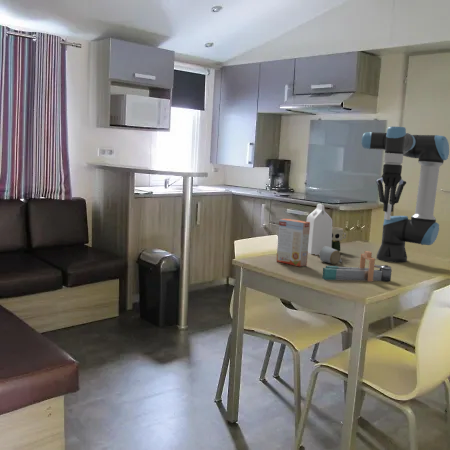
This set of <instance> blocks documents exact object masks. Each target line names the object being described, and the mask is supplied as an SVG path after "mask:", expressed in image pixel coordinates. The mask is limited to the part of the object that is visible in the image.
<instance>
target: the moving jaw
mask: <svg viewBox="0 0 450 450" xmlns="http://www.w3.org/2000/svg"><path fill="white" fill-rule="evenodd" d="M325 268H335V269H362V270H369V267H365V268H360V267H357V266H355V267H352V266H338V265H325ZM375 268H377V269H380V268H381V269H385V270H391V269H392V266H389V265H387V264H384V265H379V264H374V269H375Z"/></svg>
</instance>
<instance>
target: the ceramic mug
mask: <svg viewBox="0 0 450 450" xmlns="http://www.w3.org/2000/svg"><path fill="white" fill-rule="evenodd" d="M319 259H320V261H321V262H324V263H328V264H330V265H336V264H338V263H341V264H342V261H343V260H342V258H341V251H337V250H335V249H333V248H330V247H327V246H325V247H323V248H322V249H321V251H320V254H319Z"/></svg>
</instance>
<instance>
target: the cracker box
mask: <svg viewBox="0 0 450 450" xmlns="http://www.w3.org/2000/svg"><path fill="white" fill-rule="evenodd" d="M278 222H279V223H278V224H279V225H278V236H277V249H276V250H277V251H276V262H278V263H283V264H287V265H291V266H296V267H299V268H300V267H306V266H307V265H308V254H309V253H308V243H309V231H310V222H306V221H304V220H299V219H293V218H279V221H278Z"/></svg>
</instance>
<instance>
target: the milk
mask: <svg viewBox="0 0 450 450" xmlns="http://www.w3.org/2000/svg"><path fill="white" fill-rule="evenodd" d="M305 222H310V231H309V243H308V254H309V253H310V254H309V255H311V254H315V255H317V256H318V255H319V254H320V251H321V249H322V248H323V247H325V246H327V247H330V248H332V227H333V219H332V217H331V216H330V215H329V214H328V213H327V212H326V210H325V205H324V204H321V203H317V205H316V208H315V209H314V210H313V211H311V213H309V214H308V215H307V217H306V221H305Z"/></svg>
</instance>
